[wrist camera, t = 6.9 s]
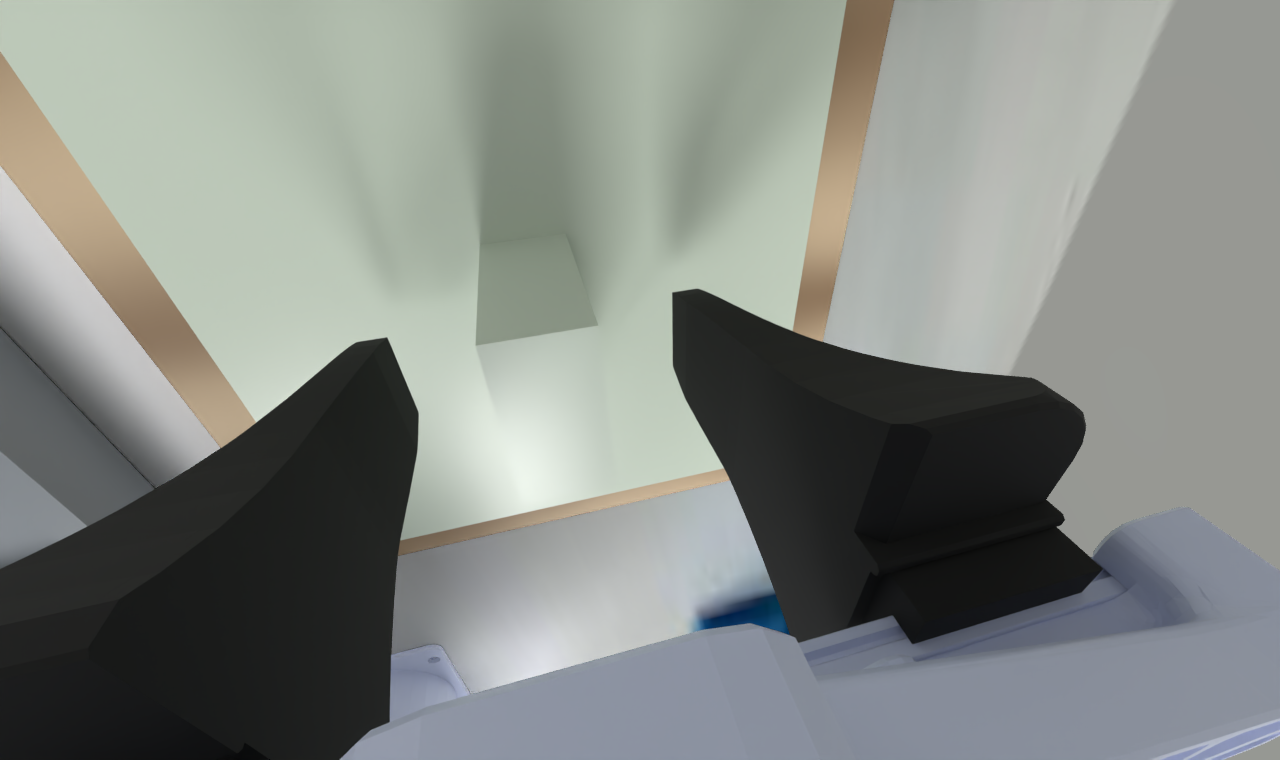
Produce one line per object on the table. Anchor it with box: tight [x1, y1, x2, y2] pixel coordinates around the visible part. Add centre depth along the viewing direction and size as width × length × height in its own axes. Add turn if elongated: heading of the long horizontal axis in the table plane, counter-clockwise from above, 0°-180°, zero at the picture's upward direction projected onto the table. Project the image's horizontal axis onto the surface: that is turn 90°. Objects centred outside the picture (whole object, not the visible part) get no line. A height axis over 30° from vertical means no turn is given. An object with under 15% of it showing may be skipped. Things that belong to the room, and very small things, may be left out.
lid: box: [0, 0, 847, 540], centre depth 11 cm, size 15×15×5 cm
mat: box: [0, 0, 894, 556], centre depth 13 cm, size 18×18×1 cm
